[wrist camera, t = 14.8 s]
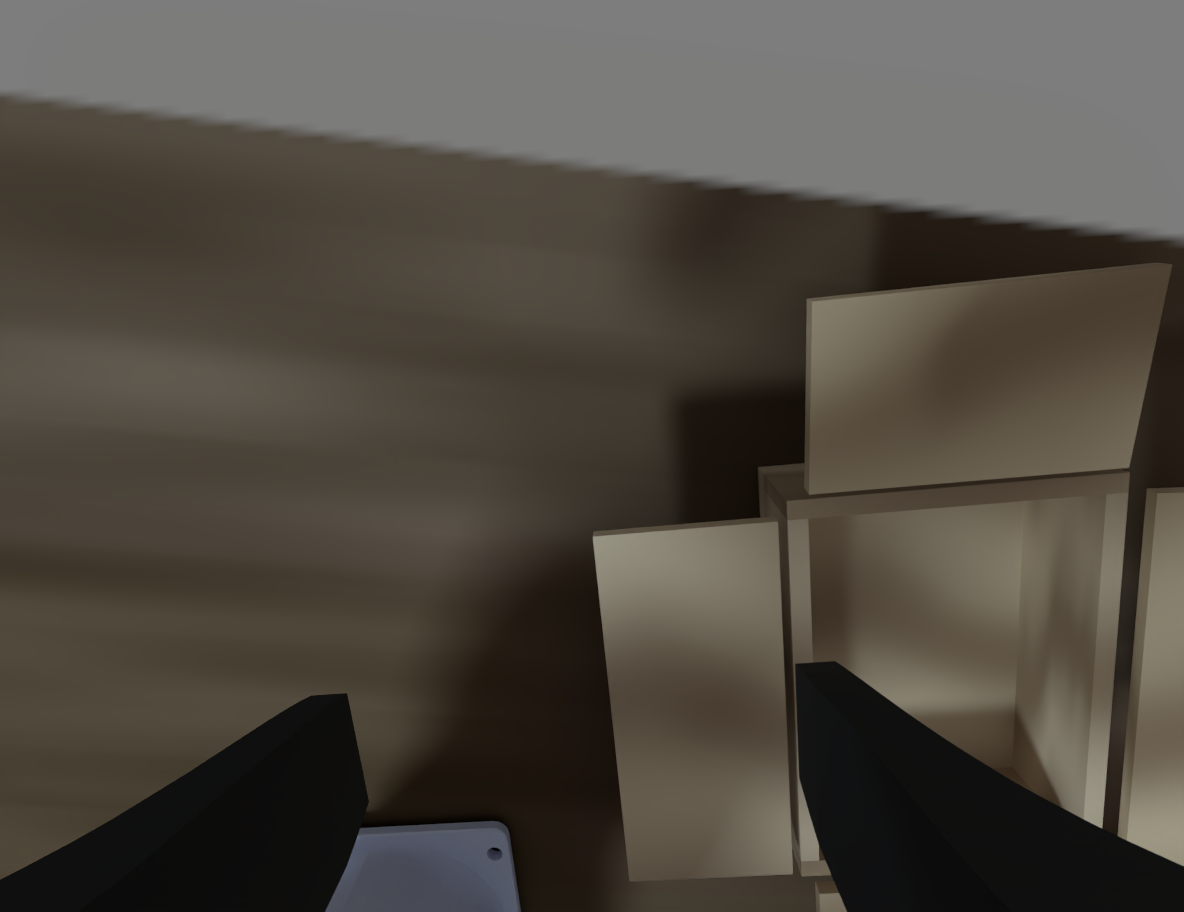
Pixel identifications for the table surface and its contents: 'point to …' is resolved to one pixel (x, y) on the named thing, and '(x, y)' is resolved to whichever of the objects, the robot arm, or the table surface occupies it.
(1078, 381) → the flap
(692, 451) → the table surface
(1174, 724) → the flap
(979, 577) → the carton
